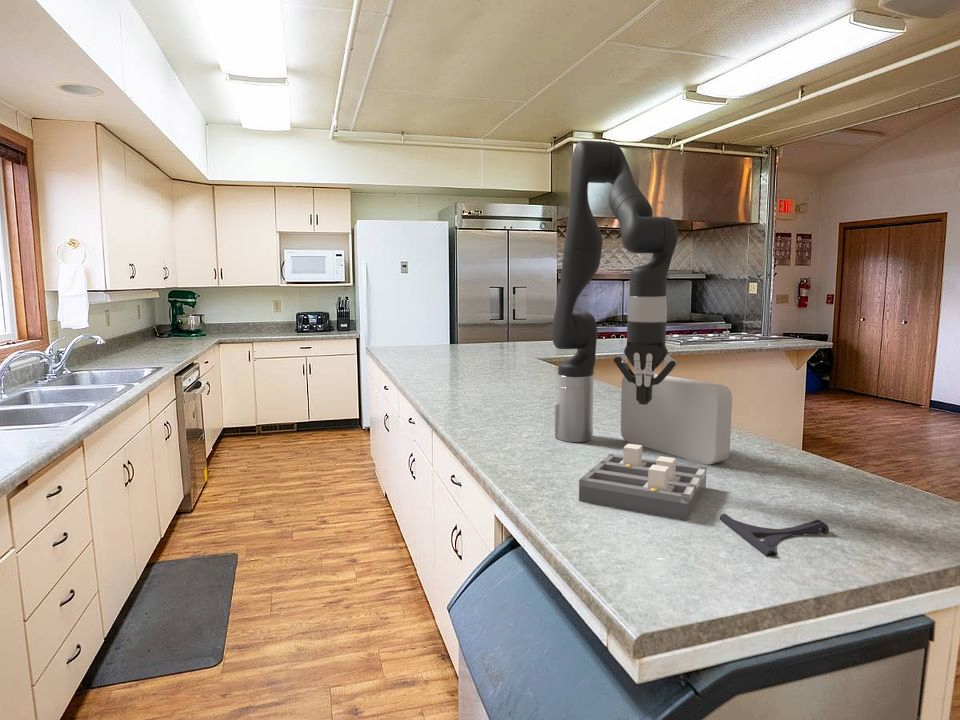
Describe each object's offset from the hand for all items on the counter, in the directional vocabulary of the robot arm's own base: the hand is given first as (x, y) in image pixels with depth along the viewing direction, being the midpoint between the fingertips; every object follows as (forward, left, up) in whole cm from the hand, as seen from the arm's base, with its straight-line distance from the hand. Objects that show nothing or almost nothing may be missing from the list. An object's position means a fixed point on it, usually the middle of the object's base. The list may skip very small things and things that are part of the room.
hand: (643, 403), depth 122 cm
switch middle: (+6, -6, -14) cm, 16 cm away
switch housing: (+2, -6, -17) cm, 18 cm away
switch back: (-2, 0, -13) cm, 14 cm away
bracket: (+27, -14, -18) cm, 35 cm away
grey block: (0, +27, -17) cm, 32 cm away
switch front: (+6, -12, -14) cm, 19 cm away
